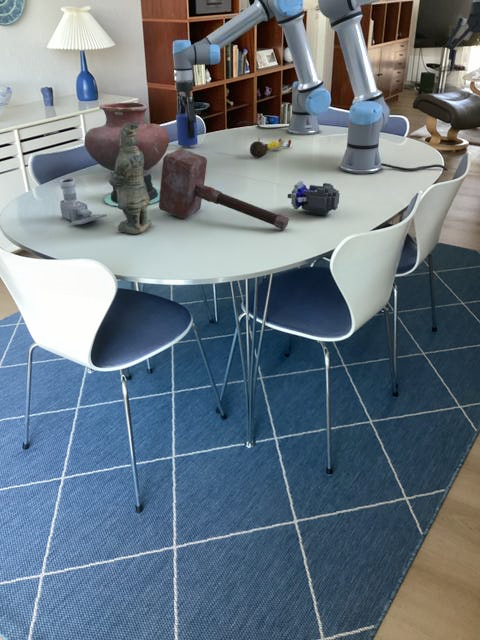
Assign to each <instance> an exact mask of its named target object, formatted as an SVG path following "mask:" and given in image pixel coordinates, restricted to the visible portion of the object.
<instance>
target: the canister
mask: <svg viewBox="0 0 480 640" xmlns="http://www.w3.org/2000/svg"><path fill="white" fill-rule="evenodd" d="M195 117H196V118H197V113H195ZM175 121H176V132H177V133H176V134H177V145H178V146H181V147H191V146H196V145H198V143H199V142H198V141H199V140H198V125H197V121H196V122H194V133H195V138H188V124H187V121H188V118H187V114H186V112H185V113H184V114H178V115H177V114H176V115H175Z"/></svg>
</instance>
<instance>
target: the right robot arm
mask: <svg viewBox="0 0 480 640" xmlns="http://www.w3.org/2000/svg"><path fill="white" fill-rule="evenodd" d="M378 1H380V0H317V5H318V9H319V11H320V13H321V14H322V15H323V17H325V18H327V19H328V21H329V25H330V28H331V29H332V31H335V32H336V34H337V37H338V41H339V45H340V48H341V52H342V55H343V59H344V63H345V67H346V71H347V73H348V77H349V83H350V85H351V88H352V92H353V96H354V98H353V100H352V103H351V106H350V107H349V112H348V126H347V138H346V139H347V140H346V149H345V151H344V154H343V156H342V158H341V162H340V170H341V171H343V172H345V173H349V174H355V175H356V174H357V175H369V174H370V175H371V174H376V173H378V172H380V171H382V167H385V168H390V169H395V170H400V171H406V172H416V171H418V170H426V169H432V168H441V169H443V170H444V171H449V169H448V168H447V167H446V166H445V165H443V164H439V163H438V164H429V165H420V166H417V167H402V166H397V165H393V164H388V163H383V162H382V161H381V155H380V150H379V147H380V145H379V144H380V138H381V137H380V136H381V131H382V130H383V129H385V127H386V126H387V124H388V122H389V120H390V116H391V111H390V107H389V106H388V105H389V104H387V102H385V98H384V94H383V91H381V90H379V89H378V87H377V83H376V81H375V77H374V73H373V72H374V71H373V69H372V65H371V60H370V56H369V53H368V49H367V45H366V42H365V41H366V40H365V38H364V33H363V30H362V26H361V20H362V18H363V12H362V8H361V6H363V5H364V6H365V5H368V4H371V3H375V2H378ZM468 14H469V15H468V18H464V17H459V18H458V21H457V25H455V28H454V30H453V31H452V33H451V34H450V36H449V38H448V39H447V41H446V42H445V44H444V48H446V49H448V50H449V52H448V61H450V64H449V65H450V66H449V71H450V72H452V71H454V69H455V63H456V58H457V53H458V52H457V49H456V48H457V47H458V45H460V44H461V43H462V41H464V39H466V37H467V36H468V35H469V34H470V33H473V34H476V33H479V34H480V0H473V1H472V2H471V3H470V9H469V13H468ZM465 24H467V26H468V28H466V29H465V30H464V32H463V33H462V34H461V35H460V36H459V37H458V38H457V39H456V37H457V35H458V34H459V32H460V30H461V29H462V28H463V26H465ZM455 39H456V40H455ZM454 40H455V41H454Z"/></svg>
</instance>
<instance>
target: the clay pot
mask: <svg viewBox="0 0 480 640" xmlns="http://www.w3.org/2000/svg"><path fill="white" fill-rule="evenodd" d="M98 108H99V109H100V110H103V112H104V115H105V124H104V125H101V126H97V127H92V128H90V129H88V130H87V131H86V134H85V135H84V140H83V145H84V148H85V150H86V151H87V153H88V154H89V156H90V157H91V158H92V159H93V160H94V161H95V162H96V163H98V164H99V165H100V166H101V167H103V168H105V169H107V170H109V171H111V172H114V170H115V164H116V160H117V156H118V154H119V151H120V147H119V140H118V138H119V133H120V130H121V129H123V128H124V127H125V126H126V125H127V124H128V123H131V122H133V121H137V122H138V123H139V127H138V130H137V131H136V138H137V143H136V146H137V147H138V149H139V150H141V151H142V153H143V156H144V166H143V169H144V170H146V171H147V172H148V171H149V170H151V169H153V168H154V167H155V166H156V165H158V163H159V162H160V161H161V160H162V159H163V158H164V156H165V155H166V152H167V149H168V147H169V144H170V135H169V133H168V131H167V130H166V128H165V127H163V126H162V125H160V124H157V123H145V119H146V116H145V115H146V111H147V110H148V108H149V106H148V105H146V104H145V103H142V102H137V101H135V102H134V101H130V102H128V101H127V102H111V103H104V104H103V103H102V104H100V105H99V107H98Z"/></svg>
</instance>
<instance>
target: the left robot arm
mask: <svg viewBox="0 0 480 640" xmlns="http://www.w3.org/2000/svg"><path fill="white" fill-rule="evenodd" d="M303 6H304V0H254V2H253V3H252V4H251V5H250V6H248V7H247V8H246V9H244V10H243V11H241V12H239V13H238V14H237V15H235V16H234V17H233V18H231V19H230V20H228V21H226V22H225V23H223V25H221V26H220V27H218V28H216V29H215V30H213V32H211V33H209V34H208V35H207V36H206V37H204V38H203V39H201V40H199V41H196V42H194V44H192V43H191V40H189V39H178V40H177V39H176V40H174V41H173V42H172V59H173V71H174V73H173V76H174V81H175V82H174V87H175V91H176V92H178V93H176V115H178V114H184V113H186V114H187V118H188V121H187V124H188V138H195V133H194V122H196V123H197V116H196V117H195V114H196V111H195V103H194V101H195V99H194V96H191V92H193V91H194V82H193V80H194V74H193V73H194V72H193V66H206V65H208V66H209V65H210V66H213V65H218V64H219V63H220V62H221V50H222V49H224V48H225V47H227V46H228V45H230V44H231V43H233V42H234V41H235V40H236V39H238V38H240V37H241V36H242V35H244V34H245V33H247V32H248V31H250V30H252V29H253V28H254V27H255V26H257V25H259V24H260V23H261V22H263V21H265V22H268V21H269V20H270V19H272V18H273V17H275V20H276V23H277V25H278V26H280V27H281V28H282V30H283V34H284V37H285V40H286V43H287V47H288V50H289V53H290V57H291V60H292V63H293V66H294V69H295V73H296V77H297V80H298V81H293V83H292V89H291V93H292V94H291V117H290V120H289V123H288V125H282V126H260V123H259V122H253V121H249V120H243V121H239V122H238V123H237V126H240V125H241V124H245V123H246V124H252V125H254V126H255V125H256V126H257V128H259V129H262V130H275V129H287V133H288V134H291V135H298V136H300V135H301V136H307V135H315V134H318V133H319V132H320V126H319V121H318V117H317V116H321V115H323V114H325V113H326V112H327V111H328V110H329V108H330V106H331V102H332V97H331V93H330V92H329V91H328V90H327V89H326V87H325V83H324V79H323V78H322V77H320V76H319V74H318V71H317V67H316V64H315V60H314V56H313V54H312V53H313V52H312V49H311V46H310V42H309V39H308V36H307V32H306V28H305V24H304V22H303V21H304V20H303V19H304V16H305V11H304V10H305V9H304V8H303Z"/></svg>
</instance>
